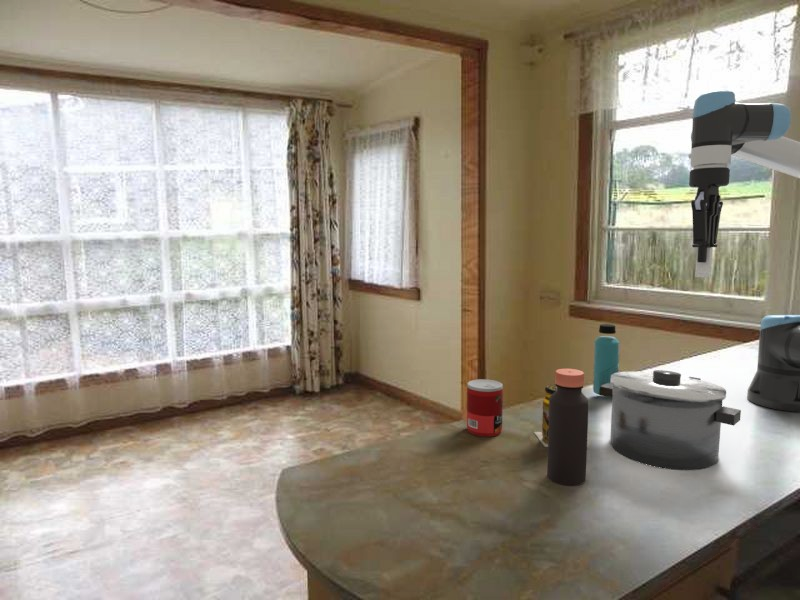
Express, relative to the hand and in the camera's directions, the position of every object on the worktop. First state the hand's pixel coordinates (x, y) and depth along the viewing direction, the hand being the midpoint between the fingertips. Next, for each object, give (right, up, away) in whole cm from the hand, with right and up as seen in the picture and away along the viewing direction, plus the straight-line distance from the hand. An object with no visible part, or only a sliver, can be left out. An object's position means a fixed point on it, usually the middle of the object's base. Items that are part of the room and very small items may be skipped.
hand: (702, 277), depth 119 cm
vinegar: (-36, -38, -20) cm, 56 cm away
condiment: (-33, -36, -2) cm, 49 cm away
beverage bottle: (-12, -32, +26) cm, 43 cm away
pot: (-13, -36, -8) cm, 39 cm away
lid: (-13, -23, -9) cm, 28 cm away
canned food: (-48, -35, +3) cm, 59 cm away
